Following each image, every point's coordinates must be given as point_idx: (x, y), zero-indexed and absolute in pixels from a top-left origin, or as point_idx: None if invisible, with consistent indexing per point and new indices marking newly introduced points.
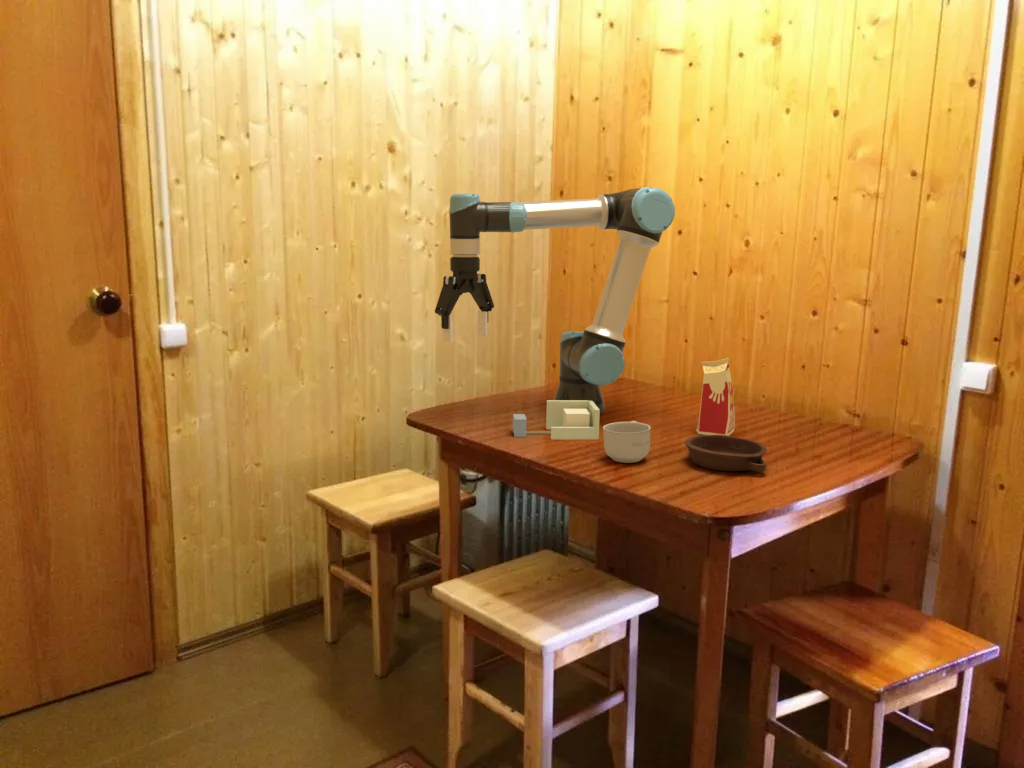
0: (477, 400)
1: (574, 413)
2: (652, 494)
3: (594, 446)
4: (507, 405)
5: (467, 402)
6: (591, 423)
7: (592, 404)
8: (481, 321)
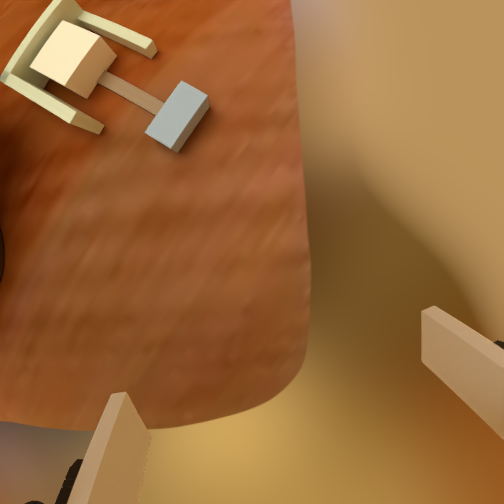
0: None
1: (83, 32)
2: None
3: None
4: (62, 361)
5: None
6: None
7: (28, 40)
8: (122, 481)
